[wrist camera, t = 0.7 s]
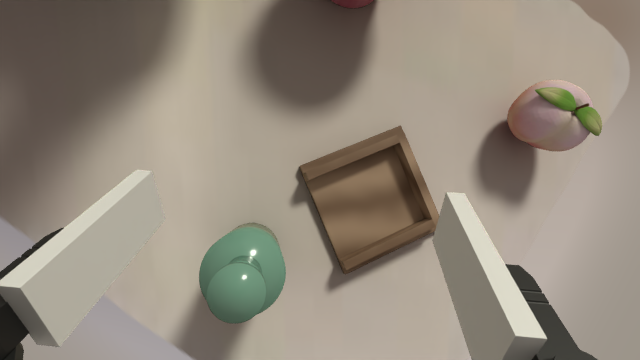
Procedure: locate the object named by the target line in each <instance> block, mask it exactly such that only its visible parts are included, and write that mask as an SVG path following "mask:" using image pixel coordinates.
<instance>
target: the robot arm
mask: <svg viewBox="0 0 640 360" xmlns="http://www.w3.org/2000/svg"><path fill="white" fill-rule="evenodd" d="M165 219H166V218H165V214H164V211H163V207H162V203H161V200H160V196H159V193H158V189H157V185H156V182H155V178H154V174H153V171H148V170H135V171H134V172H133V173H132V174H130V175H129V176H128V177H127V178H125V179H124V180H123V181H122V182H121V183H119V184H118V185H117V186H116V187H114V188H113V189H112V190H111V191H109V192H108V193H107V194H106V195H104V196H103V197H102V198H101V199H100V200H98V201H97V202H96V203H95V204H93V205H92V206H91V207H90V208H88V209H87V210H86V211H85V212H84V213H82V214H81V215H80V216H79V217H77V218H76V219H75V220H74V221H72V222H71V223H70V224H69V225H68V226H66V227H65V228H61V229H59V230H57V231H55V232H53V233H51V234H49V235H47V236H45V237H44V238H43V239H41V240H40V241H39V242H38V243H36V244H35V245H34V246H33V247H32V249H29V250H27V251H26V252H25V253H24V254H22V256H21V258H20V257H19V258H17V259H16V260H15V261H13V262H12V263H11V264H10V265H8V266H7V267H6V268H5V269H4V270H2V271H1V272H0V360H23V353H24V350H23V346H22V344H21V343H20V342H21V341H22V340H23V339H24V338H25V336H26V335H27V334H28V333H29V334H30V336H31V337H32V338H33V340H34V341H35V342H36V344H38V345H46V346H55V347H60V346H61V345H62V344H63V342H64V341H65V340H66V339H67V338H68V336H69V335H70V334H71V333H72V332H73V330H74V329H75V328H76V327H77V326H78V324H79V323H80V322H81V321H82V320H83V318H84V317H85V316H86V315H87V313H88V312H89V311H90V310H91V309H92V307H93V306H94V305H95V304H96V303H97V301H98V300H99V299H100V298H101V297H102V295H103V294H104V293H105V292H106V291H107V289H108V288H109V287H110V286H111V285H112V283H113V282H114V281H115V280H116V278H117V277H118V276H119V275H120V274H121V272H122V271H123V270H124V269H125V268H126V266H127V265H128V264H129V263H130V262H131V260H132V259H133V258H134V257H135V256H136V254H137V253H138V252H139V251H140V250H141V248H142V247H143V246H144V245H145V244H146V242H147V241H148V240H149V239H150V237H151V236H152V235H153V234H154V233H155V231H156V230H157V229H158V228H159V227H160V225H161V224H162V223H163V222H164V221H165ZM432 241H433V244H434V247H435V250H436V253H437V256H438V259H439V262H440V265H441V268H442V271H443V274H444V277H445V280H446V283H447V286H448V289H449V292H450V295H451V298H452V301H453V304H454V307H455V310H456V313H457V316H458V319H459V322H460V325H461V328H462V331H463V335H464V338H465V341H466V344H467V347H468V350H469V353H470V356H471V359H472V360H597V359H596V358H594V357H593V356H592V355H590V354H588V353H585V352H583V351H581V350H580V349H579V348H578V347H577V345H576V344H575V342H574V340H573V339H572V337H571V336H570V334H569V333H568V331H567V329H566V328H565V326H564V325H563V323H562V322H561V320H560V319H559V317H558V316H557V314H556V312H555V311H554V309H553V308H552V306H551V305H549V302H548V300H547V299H546V297H545V295H544V294H542V291H541V289H540V288H539V286H538V284H537V283H536V281H535V280H534V278H533V277H532V276H531V275H530V274H528V273H527V272H526V271H525V270H524V269H523V268H522V267H521V266H519V265H507V264H504V262H503V260H502V258H501V257H500V255H499V253H498V251H497V250H496V248H495V246H494V244H493V243H492V241H491V239H490V237H489V236H488V234H487V232H486V230H485V229H484V227H483V225H482V223H481V222H480V220H479V218H478V216H477V215H476V213H475V211H474V209H473V208H472V206H471V204H470V202H469V201H468V199H467V197H466V195H465V194H464V193H453V192H446V195H445V198H444V202H443V205H442V209H441V212H440V216H439V219H438V223H437V226H436V230H435V233H434V237H433V240H432Z"/></svg>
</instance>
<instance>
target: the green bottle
mask: <svg viewBox="0 0 640 360" xmlns="http://www.w3.org/2000/svg"><path fill="white" fill-rule="evenodd" d="M285 274H286V270H285V263H284V259H283V256H282V253H281V250H280V247H279V244H278V241H277V238H276V236H275V235H274V233H273V232H272V231H271V230H270V229H269V228H267V227H266V226H264V225H261V224H257V223H247V224H243V225H240V226H238V227H237V228H235V229H234V230H232V231H231V232H230V233H228V234H227V235H225V236H224V237H222V238H221V239H220V240H218V241H217V242H216V243H215V244H213V245H212V247H211V248H210V249H209V250H208V252H207V253H206V254H205V256H204V258H203V261H202V263H201V267H200V273H199V282H200V288H201V291H202V293H203V295H204V297H205V299H206V300H207V303H208V306H209V308H210V310H211V312H212V313H213V314H214V315H215V316H216V317H217V318H218V319H220V320H222V321H224V322H227V323H242V322H245V321H247V320H249V319H251V318H252V317H254V316H255V315H256V314H259V313H261V312H263V311H264V310H266V309H267V308H268V307H270V306H271V305H272V304H273V303H274V302H275V300H276V299H277V298H278V296H279V295H280V293H281V291H282V289H283V286H284V282H285Z"/></svg>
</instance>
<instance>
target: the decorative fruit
mask: <svg viewBox="0 0 640 360" xmlns="http://www.w3.org/2000/svg"><path fill="white" fill-rule="evenodd" d="M507 119H508V125H509V128H510V130H511V132H512V133H513V134H514V136H515V137H517V138H518V139H519V140H521V141H524V142H527V143H528V144H530V145H531V146H533V147H536V148H539V149H544V150H549V151H566V150H569V149H572V148H574V147H576V146H577V145H579V144H580V143H581V142H583V141H584V140H585V139H586V137H587V136H588V135H589V133H590V132H591V133H592V134H594V135H597V136H599V134H600V133H601V129H602V121H601V118H600V116H599V114H598V113H597V111H596V110H595V109H593V104H592V101H591V99H590V97H589V96H588V94H587V93H586V92H585V91H584V90H583V89H581V88H580V87H578V86H576V85H574V84H572V83H569V82H566V81H563V80H547V81H542V82H539V83H537V84H535V85H533V86H531V87H529V88H528V89H527V90H525V91H524V92H523V93H522V94H521V95H520V96H519V97H518V98H517V99H516V100H515V101H514V102H513V104H512V105H511V107H510V109H509V111H508V117H507Z"/></svg>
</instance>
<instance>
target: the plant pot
mask: <svg viewBox="0 0 640 360" xmlns="http://www.w3.org/2000/svg"><path fill="white" fill-rule="evenodd" d="M331 1H332V2H334V3H336V4H338V5H340V6H343V7H346V8H360V7H363V6H366V5H368V4H369V3H371V2H372V1H373V0H331Z"/></svg>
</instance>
